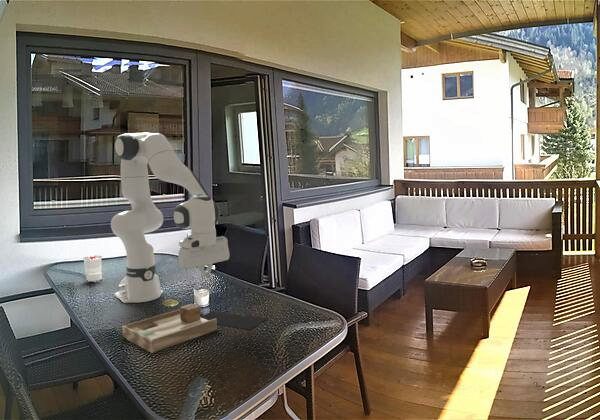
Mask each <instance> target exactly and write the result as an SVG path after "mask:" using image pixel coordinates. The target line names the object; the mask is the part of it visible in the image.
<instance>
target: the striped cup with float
mask: <svg viewBox="0 0 600 420" xmlns="http://www.w3.org/2000/svg"><path fill="white" fill-rule="evenodd" d="M83 262H84V271H85V277H86V281H87V280H88V281H96V280H100V279H102V280H103V267H102V266H103V265H102V256H101V255H90V256H86V257H85V256H84V257H83Z"/></svg>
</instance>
